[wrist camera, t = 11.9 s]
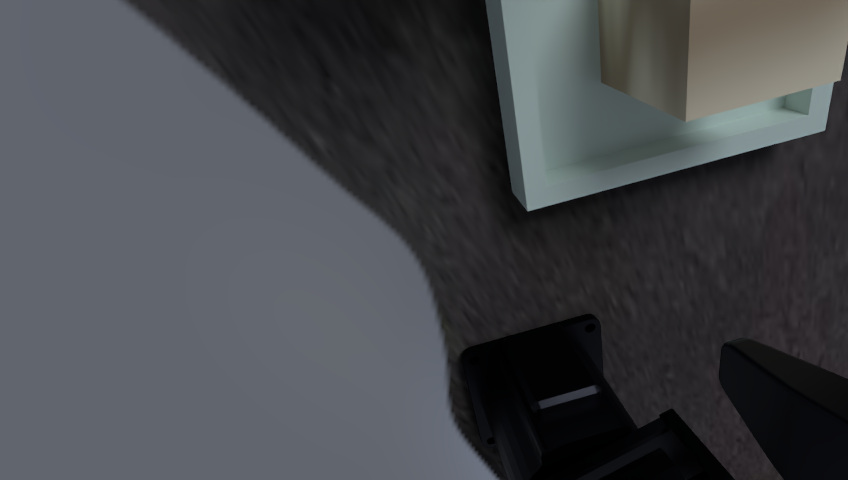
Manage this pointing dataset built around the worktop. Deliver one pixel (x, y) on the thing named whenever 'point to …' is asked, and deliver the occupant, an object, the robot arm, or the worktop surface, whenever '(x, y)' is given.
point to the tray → (607, 110)
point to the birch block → (719, 50)
